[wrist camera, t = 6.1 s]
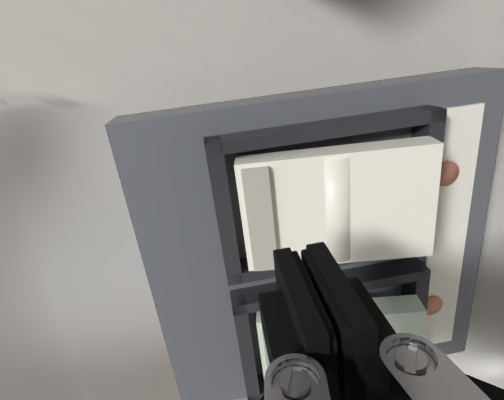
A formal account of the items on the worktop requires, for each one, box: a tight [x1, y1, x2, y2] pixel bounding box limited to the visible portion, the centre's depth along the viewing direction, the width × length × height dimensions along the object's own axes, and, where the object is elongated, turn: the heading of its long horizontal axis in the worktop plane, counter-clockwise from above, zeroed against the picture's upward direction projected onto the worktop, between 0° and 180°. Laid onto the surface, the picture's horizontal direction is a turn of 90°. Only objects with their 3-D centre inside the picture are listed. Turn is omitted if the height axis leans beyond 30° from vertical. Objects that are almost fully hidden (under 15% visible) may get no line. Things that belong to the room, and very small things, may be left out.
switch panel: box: [105, 67, 504, 400], centre depth 21 cm, size 20×19×4 cm
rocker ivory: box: [234, 136, 444, 271], centre depth 17 cm, size 9×6×2 cm, turn 97°
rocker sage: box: [256, 294, 427, 378], centre depth 20 cm, size 9×6×2 cm, turn 97°
